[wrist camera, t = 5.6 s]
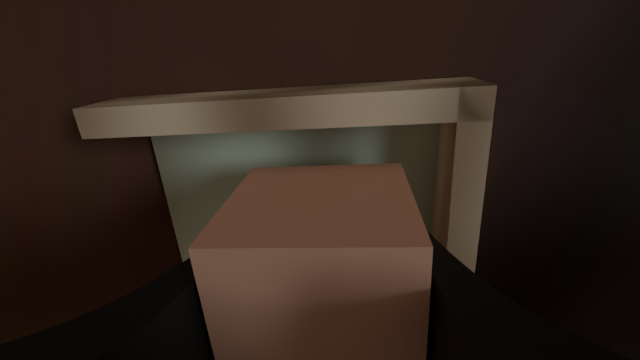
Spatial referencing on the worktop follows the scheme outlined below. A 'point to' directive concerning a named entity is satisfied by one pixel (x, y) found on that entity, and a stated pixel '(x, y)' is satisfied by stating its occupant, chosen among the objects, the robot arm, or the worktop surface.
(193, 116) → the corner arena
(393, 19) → the worktop surface
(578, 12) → the worktop surface
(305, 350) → the terracotta cube
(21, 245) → the worktop surface
